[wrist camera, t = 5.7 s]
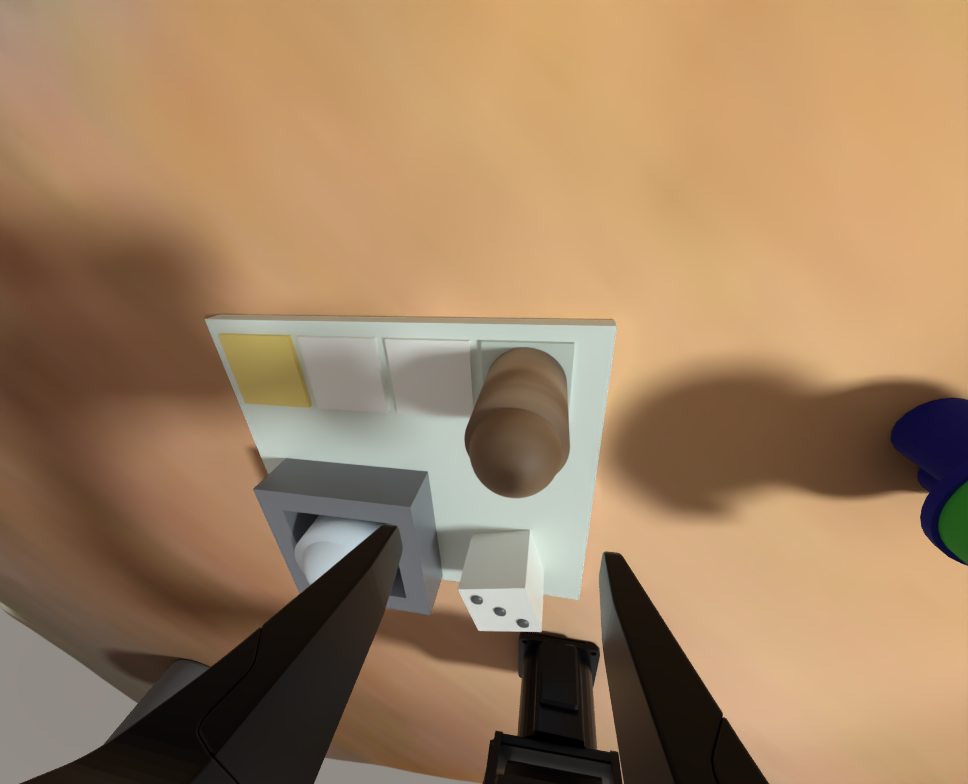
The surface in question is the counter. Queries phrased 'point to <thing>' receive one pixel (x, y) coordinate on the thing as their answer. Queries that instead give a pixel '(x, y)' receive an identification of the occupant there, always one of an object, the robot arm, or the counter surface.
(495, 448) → the pawn
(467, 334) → the board
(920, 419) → the toy
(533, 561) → the die
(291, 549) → the base
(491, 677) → the counter surface
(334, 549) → the dome
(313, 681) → the robot arm
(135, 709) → the mug
